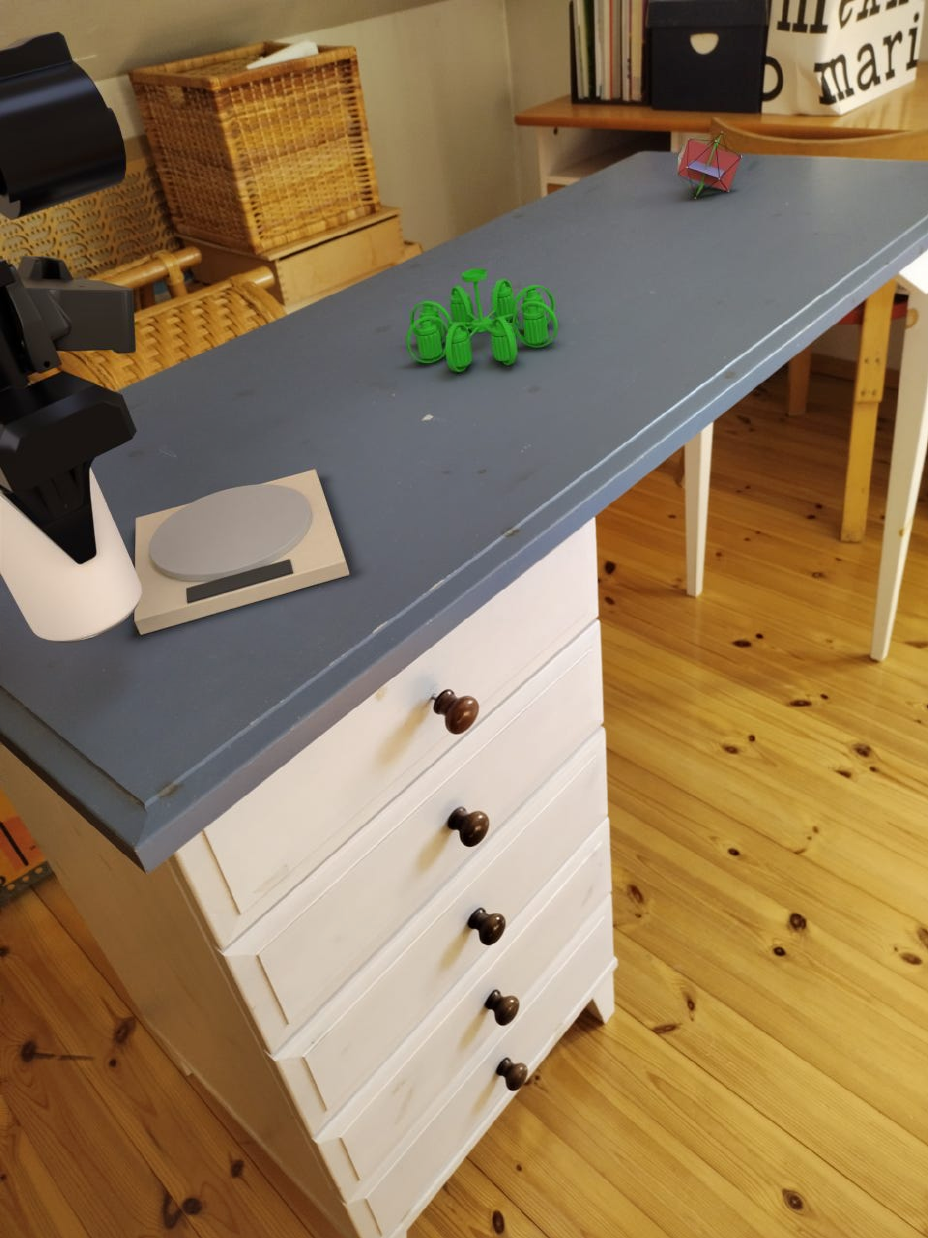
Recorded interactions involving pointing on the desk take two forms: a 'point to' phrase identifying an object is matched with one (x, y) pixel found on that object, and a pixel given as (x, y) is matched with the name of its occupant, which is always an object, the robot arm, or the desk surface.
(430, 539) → the desk surface
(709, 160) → the geometric puzzle
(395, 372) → the desk surface
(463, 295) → the chandelier
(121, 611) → the can
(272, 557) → the scale
